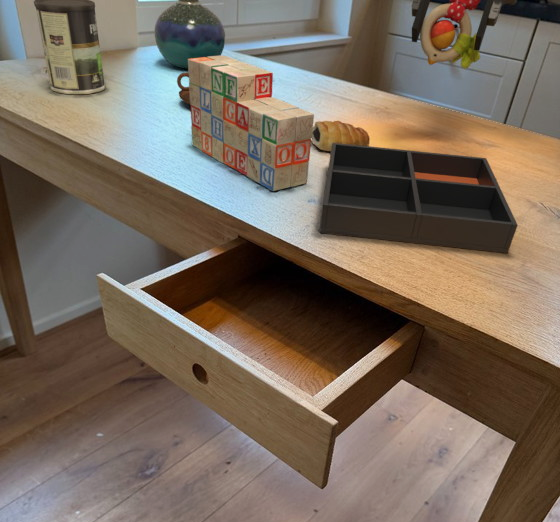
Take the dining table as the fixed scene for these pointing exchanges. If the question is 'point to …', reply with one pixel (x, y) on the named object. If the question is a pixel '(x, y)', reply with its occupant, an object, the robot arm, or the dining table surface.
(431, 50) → the bird rattle
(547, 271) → the dining table surface
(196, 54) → the vase
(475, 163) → the grid
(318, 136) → the pastry
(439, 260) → the dining table surface
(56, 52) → the coffee can
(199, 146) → the stack of blocks
